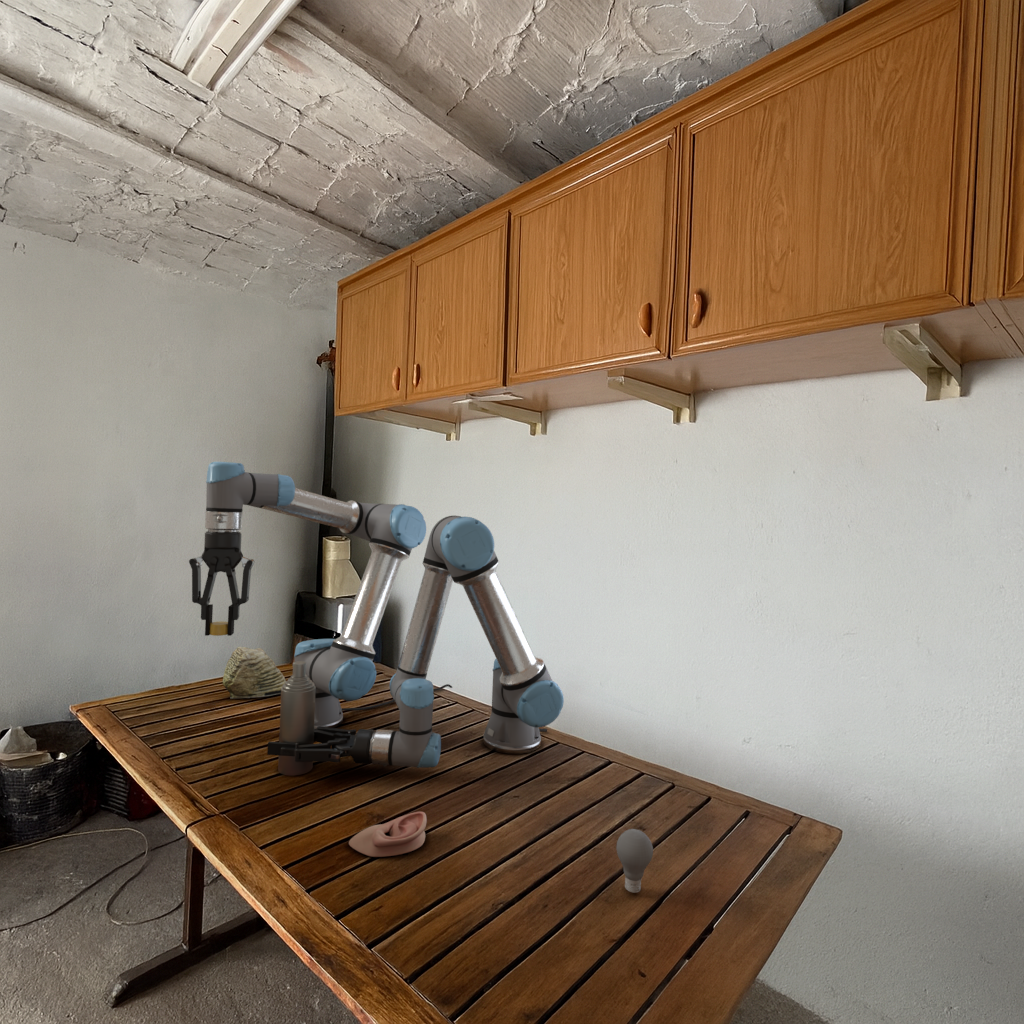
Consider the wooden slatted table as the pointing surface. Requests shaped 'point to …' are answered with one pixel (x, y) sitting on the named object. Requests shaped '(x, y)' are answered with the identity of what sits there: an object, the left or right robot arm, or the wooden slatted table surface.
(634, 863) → the light bulb
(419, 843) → the anatomical model
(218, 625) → the cap
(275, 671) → the fossil
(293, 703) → the bottle
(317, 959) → the wooden slatted table surface
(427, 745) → the right robot arm
